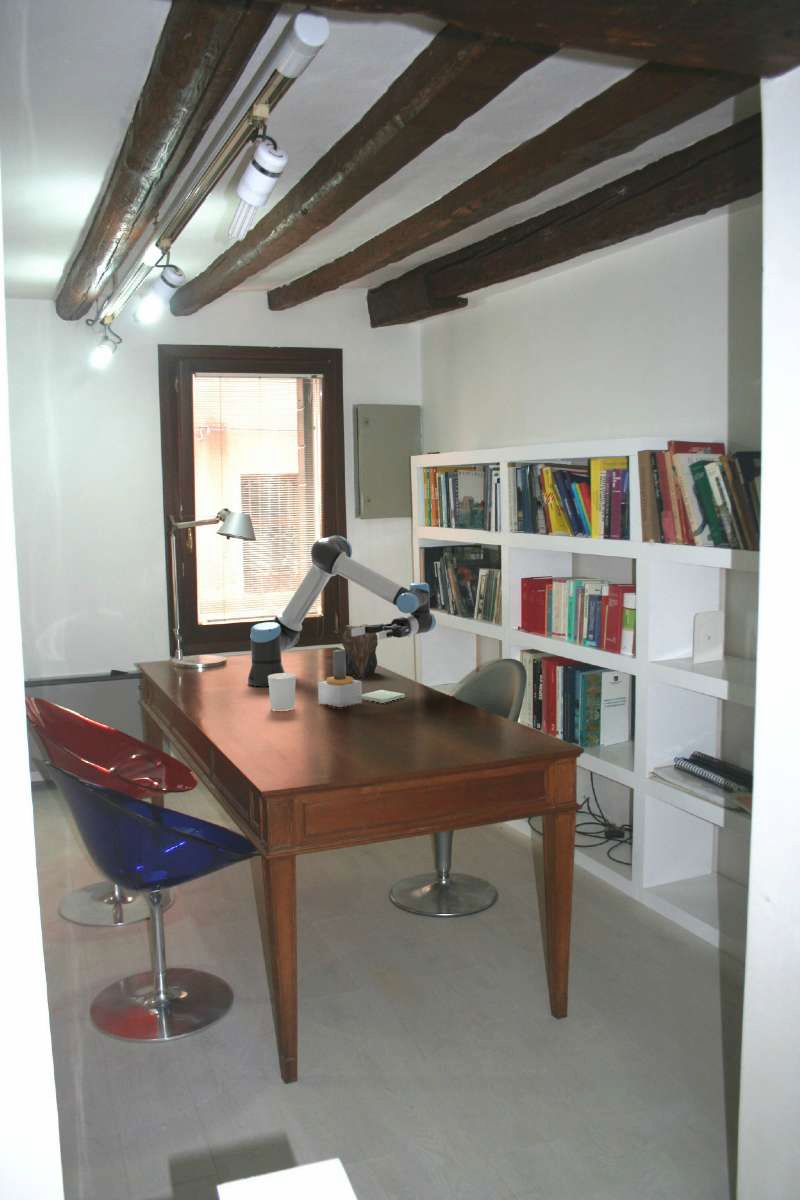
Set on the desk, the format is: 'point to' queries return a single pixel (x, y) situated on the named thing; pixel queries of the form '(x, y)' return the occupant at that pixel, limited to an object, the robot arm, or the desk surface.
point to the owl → (360, 652)
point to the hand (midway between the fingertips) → (365, 634)
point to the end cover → (339, 669)
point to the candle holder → (282, 690)
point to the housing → (340, 693)
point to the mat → (382, 696)
